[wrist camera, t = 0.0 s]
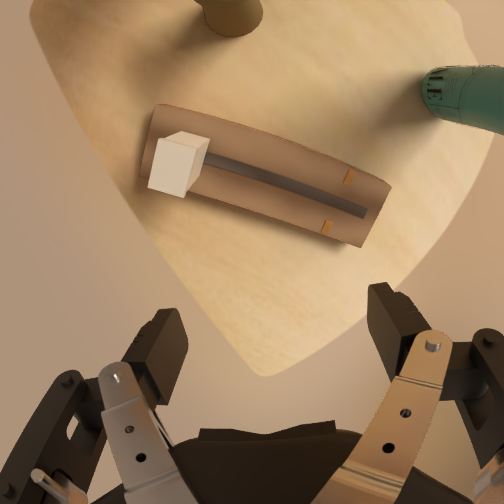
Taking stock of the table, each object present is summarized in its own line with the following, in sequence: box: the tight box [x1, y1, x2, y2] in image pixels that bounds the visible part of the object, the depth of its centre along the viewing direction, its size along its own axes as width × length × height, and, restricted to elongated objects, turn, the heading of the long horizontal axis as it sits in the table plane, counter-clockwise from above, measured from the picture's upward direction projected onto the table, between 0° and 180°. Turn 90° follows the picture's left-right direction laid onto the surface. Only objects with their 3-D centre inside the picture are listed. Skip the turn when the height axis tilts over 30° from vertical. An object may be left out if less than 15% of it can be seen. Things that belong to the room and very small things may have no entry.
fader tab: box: [148, 131, 210, 198], centre depth 25 cm, size 4×3×7 cm
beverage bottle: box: [422, 65, 504, 135], centre depth 16 cm, size 6×7×20 cm
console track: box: [139, 104, 392, 248], centre depth 30 cm, size 8×26×3 cm, turn 72°
